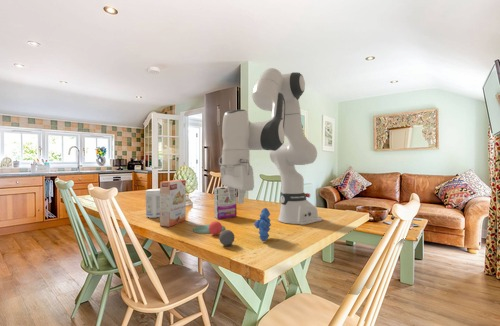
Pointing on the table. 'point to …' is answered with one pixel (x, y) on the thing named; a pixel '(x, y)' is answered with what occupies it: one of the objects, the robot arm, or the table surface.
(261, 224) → the grapes
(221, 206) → the candy bar box
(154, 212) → the supplement tub
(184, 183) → the cracker box
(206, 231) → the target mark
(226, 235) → the ball
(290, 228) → the table surface
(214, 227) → the ball
